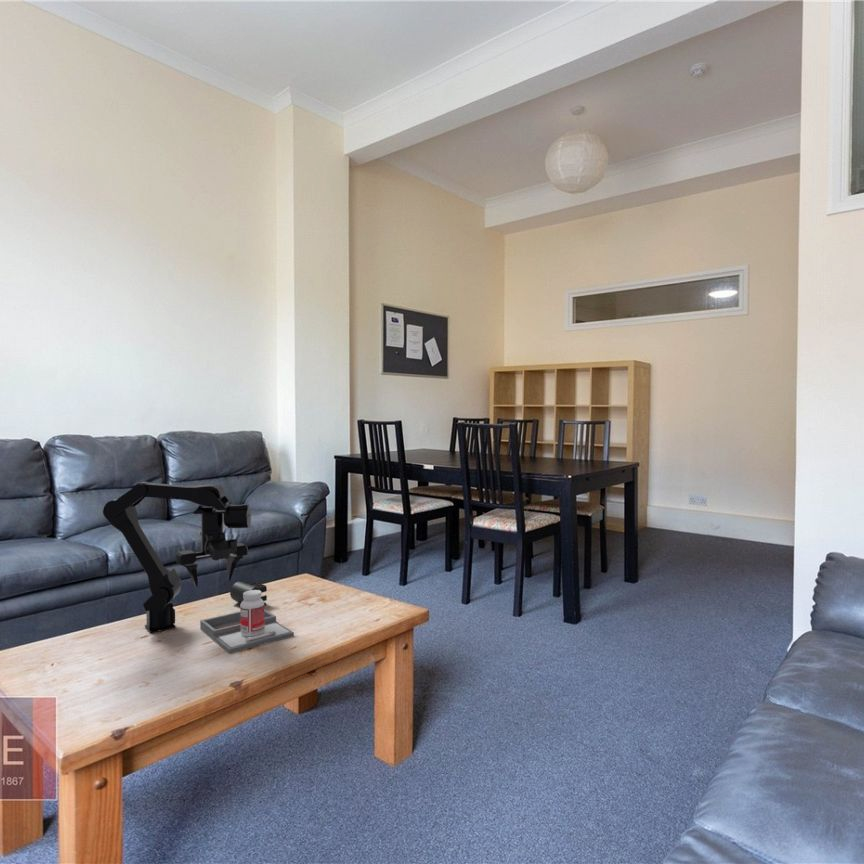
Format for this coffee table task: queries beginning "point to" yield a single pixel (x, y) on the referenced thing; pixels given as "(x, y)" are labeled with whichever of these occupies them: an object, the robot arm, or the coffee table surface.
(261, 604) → the pill bottle
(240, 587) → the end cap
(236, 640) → the case lid
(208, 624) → the case
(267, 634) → the stay rod
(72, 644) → the coffee table surface
